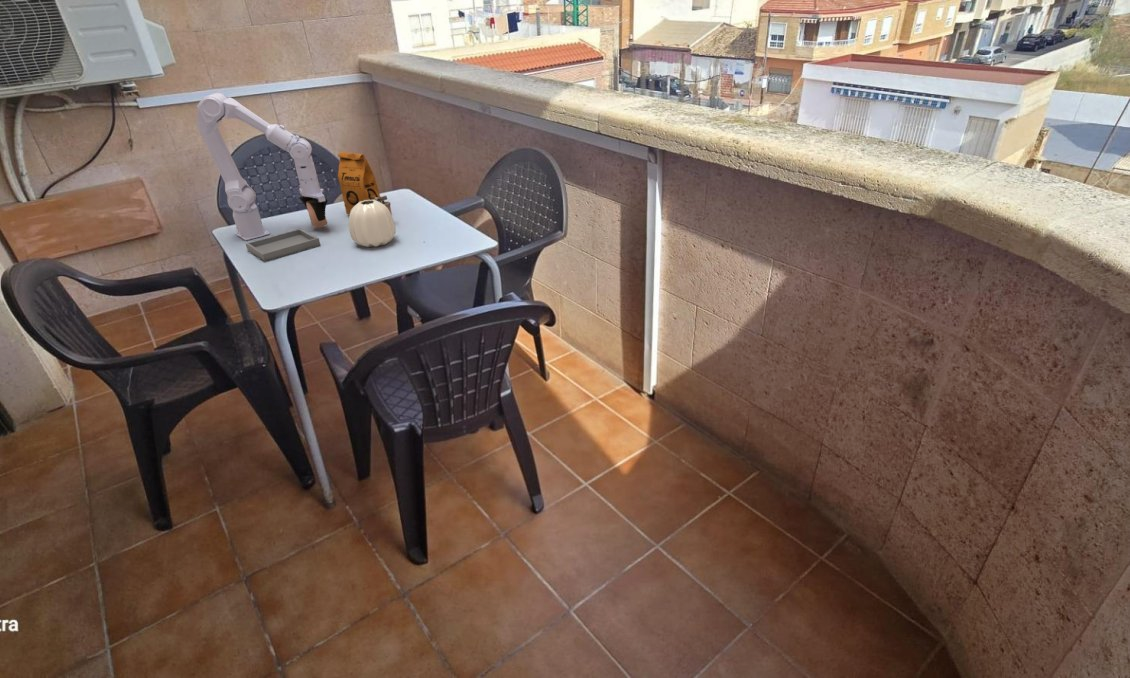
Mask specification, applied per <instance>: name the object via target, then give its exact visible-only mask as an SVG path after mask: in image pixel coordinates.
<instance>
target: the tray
mask: <svg viewBox="0 0 1130 678" xmlns="http://www.w3.org/2000/svg"><path fill="white" fill-rule="evenodd" d="M317 246H318V247H321V242H320V238H319V237H317V236H316V235H314V234H311V233H309V232H308V231H306V230H304V229H302V228H297V229H293V230H289V231H285V232H282V233H277V234H276V235H271V236H268V237H267V236H266V237H264V238H260V239H257V240H252V241H249V242H246V243H245V247H246V250H247V251H248V252H249V253H250V254H252V255H253V256H255V257H256V258H258V259H259V260H261V261H263V262H264V263H266V262H267V263H268V262H271V261H275V260H278V259H282V258H283V257H284V258H285V257H287V256H290V255H294V254H297V253H301V252H304V251H308V250H311V249H314V248H317Z"/></svg>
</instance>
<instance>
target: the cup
mask: <svg viewBox="0 0 1130 678" xmlns="http://www.w3.org/2000/svg"><path fill="white" fill-rule="evenodd" d="M310 201H312V200H310ZM306 205H307V208H306V210H307V209H308V210H307V212H308V216H309V219H310V224H311V227H313V228H321V227H325V226H327V225H328V219H327V216H326V215H325V220H322V221H318V219H317V217H316V214H315V211H314V209H313V208H312V206H311V205H310V204H309V202H308V201H307V202H306Z"/></svg>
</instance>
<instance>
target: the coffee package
mask: <svg viewBox="0 0 1130 678" xmlns="http://www.w3.org/2000/svg"><path fill="white" fill-rule="evenodd" d="M337 156H338V158H339V164H338V172H337V180H338V183H339V187H340V193H341V195H342V200H343V204H344V207H345V213H346V215H350V212H351V209H352V208H353V207H354V206H355V205H356V204H358V203H359V202H361V201H364V200H374V198H375V197H377V198H380V197H381V193H380V190H379V187H378V184H377V180H376V177H375V174H374V172H373V169H372V168H371V166H370V164H369V162H368V160H367V159H366V157H365V155H364V153H355V152H344V151H343V152H342V151H339V152H338V154H337Z"/></svg>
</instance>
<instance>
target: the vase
mask: <svg viewBox="0 0 1130 678" xmlns="http://www.w3.org/2000/svg"><path fill="white" fill-rule="evenodd" d="M391 213H392V212H391ZM391 213H390V211H389V209H388V208H387V207H386V206H385V205H384V204H382V203H380V202H378V201H376V200H364V201H361V202H359V203H358V204H356V205H355V206H354V207H353V208H352V209H351V212H350V214H349V216H348V218H349V219H348V227H349V229H348V231H349V235H350V238H351V240H352V241H354V242H355V243H356V244H358V245H359V246H361V247H366V248H371V247H376V248H377V247H379V246H386V244H387V243H390V242H391V241H392V240H393V238H394V237H395V235H396V232H397V231H396V224H395V220H394V217H393V214H392V215H391Z"/></svg>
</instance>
